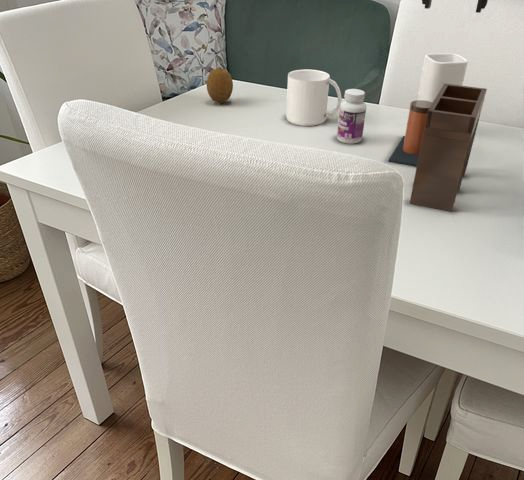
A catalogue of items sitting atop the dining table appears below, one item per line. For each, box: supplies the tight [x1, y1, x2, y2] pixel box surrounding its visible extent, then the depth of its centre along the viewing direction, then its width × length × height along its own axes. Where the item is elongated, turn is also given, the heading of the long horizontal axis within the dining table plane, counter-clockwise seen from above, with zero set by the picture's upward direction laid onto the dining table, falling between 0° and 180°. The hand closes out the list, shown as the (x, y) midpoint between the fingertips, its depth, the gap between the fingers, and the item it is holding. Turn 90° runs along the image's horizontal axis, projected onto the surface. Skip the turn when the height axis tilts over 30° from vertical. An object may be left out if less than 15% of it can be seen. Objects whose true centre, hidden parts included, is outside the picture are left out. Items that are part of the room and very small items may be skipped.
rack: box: [409, 83, 488, 212], centre depth 97 cm, size 7×16×16 cm, turn 157°
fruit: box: [206, 66, 234, 105], centre depth 134 cm, size 6×6×8 cm
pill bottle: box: [336, 88, 367, 145], centre depth 117 cm, size 5×5×10 cm
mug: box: [285, 68, 343, 127], centre depth 126 cm, size 12×9×9 cm
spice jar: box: [403, 99, 432, 155], centre depth 112 cm, size 5×5×9 cm
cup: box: [417, 52, 469, 103], centre depth 119 cm, size 7×7×15 cm
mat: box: [388, 135, 419, 167], centre depth 115 cm, size 8×14×1 cm, turn 157°
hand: (452, 9), depth 97 cm, fingers open, 8 cm apart
